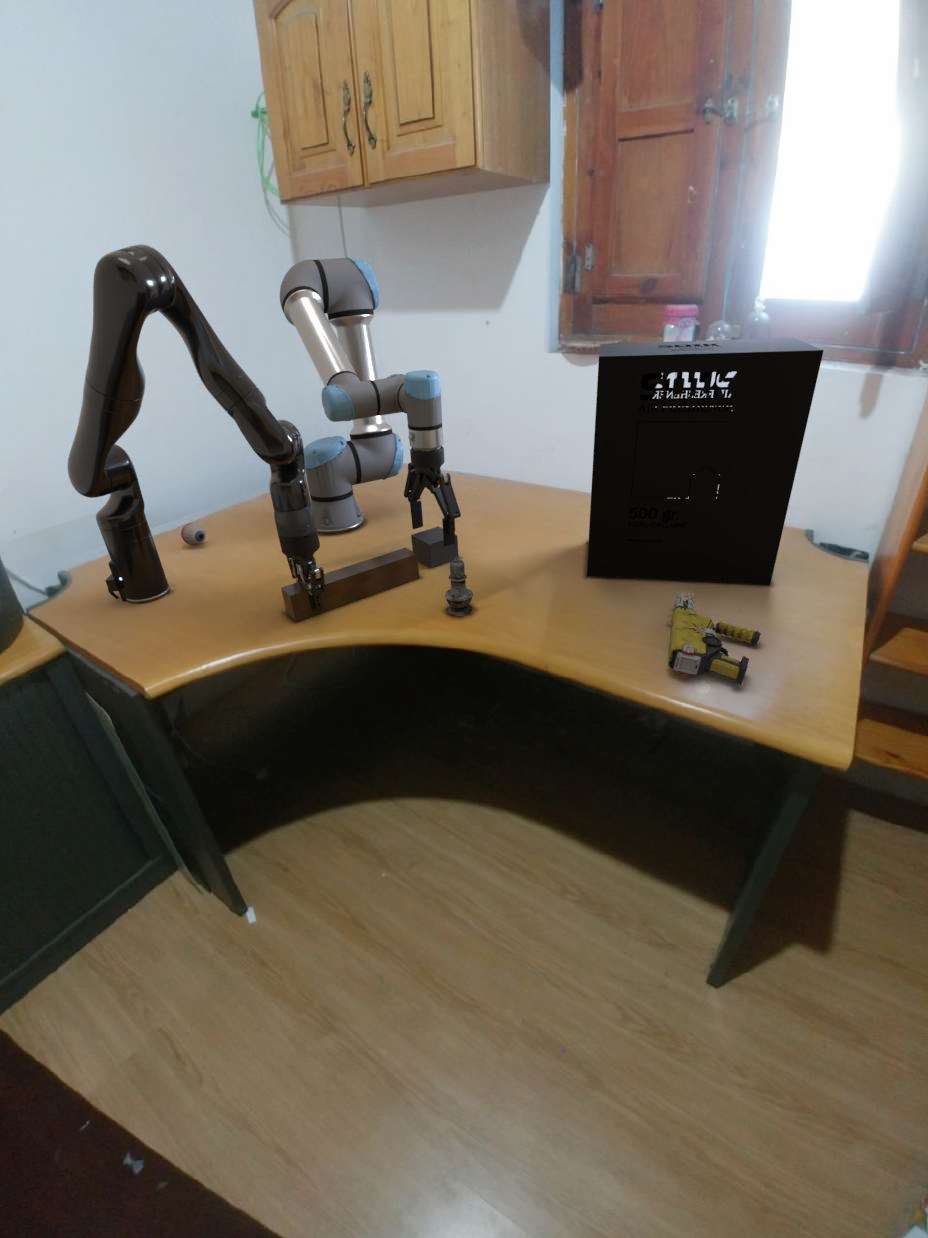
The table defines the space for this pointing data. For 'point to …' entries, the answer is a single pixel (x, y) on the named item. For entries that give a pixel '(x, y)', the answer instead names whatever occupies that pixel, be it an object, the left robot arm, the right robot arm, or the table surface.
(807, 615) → the table surface
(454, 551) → the cap block
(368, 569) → the dark wooden beam
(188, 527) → the eyeball
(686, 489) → the cardboard box
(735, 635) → the toy gun
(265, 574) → the table surface
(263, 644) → the table surface
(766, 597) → the table surface
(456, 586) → the salt shaker
